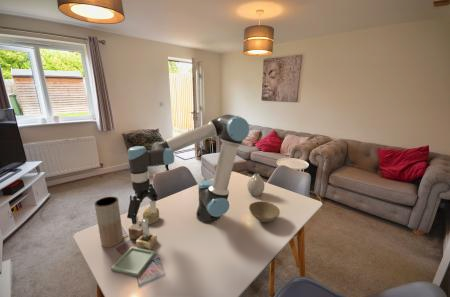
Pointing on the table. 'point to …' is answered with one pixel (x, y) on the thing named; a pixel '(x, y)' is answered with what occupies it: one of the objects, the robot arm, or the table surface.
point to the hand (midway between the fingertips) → (145, 220)
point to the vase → (255, 185)
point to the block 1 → (135, 232)
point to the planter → (109, 221)
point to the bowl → (264, 211)
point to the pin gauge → (145, 229)
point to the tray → (133, 261)
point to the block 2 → (144, 244)
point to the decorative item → (151, 215)
